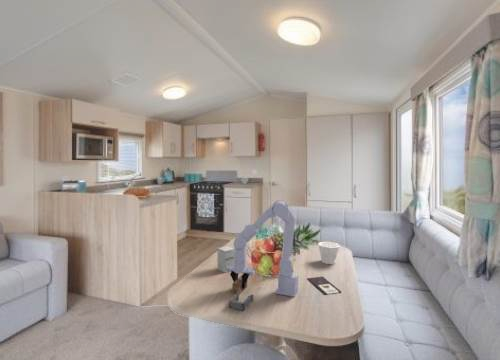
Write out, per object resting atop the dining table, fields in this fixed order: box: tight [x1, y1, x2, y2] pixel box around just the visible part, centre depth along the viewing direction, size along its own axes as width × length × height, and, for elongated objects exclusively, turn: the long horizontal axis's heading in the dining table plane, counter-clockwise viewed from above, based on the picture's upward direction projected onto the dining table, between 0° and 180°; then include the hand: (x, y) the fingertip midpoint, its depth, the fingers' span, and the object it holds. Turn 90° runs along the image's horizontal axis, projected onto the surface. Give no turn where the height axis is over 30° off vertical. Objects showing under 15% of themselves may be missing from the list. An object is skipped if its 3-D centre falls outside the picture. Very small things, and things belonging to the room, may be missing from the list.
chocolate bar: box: [307, 276, 342, 296], centre depth 145 cm, size 9×1×18 cm
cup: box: [318, 241, 340, 265], centre depth 178 cm, size 12×12×11 cm
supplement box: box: [217, 245, 235, 273], centre depth 165 cm, size 7×7×13 cm
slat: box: [231, 275, 248, 296], centre depth 140 cm, size 10×4×5 cm, turn 157°
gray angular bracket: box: [228, 291, 254, 312], centre depth 127 cm, size 8×10×3 cm
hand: (240, 287), depth 140 cm, fingers closed on slat, 3 cm apart
